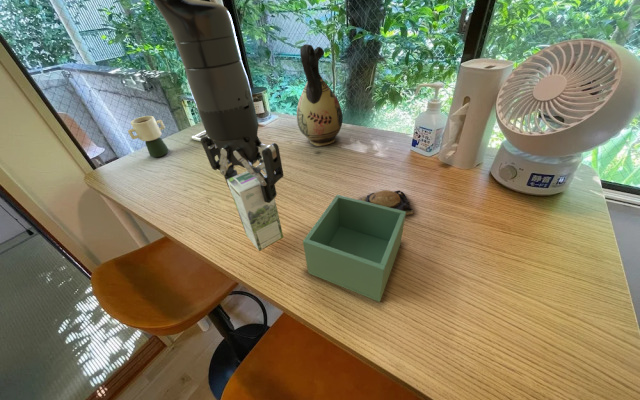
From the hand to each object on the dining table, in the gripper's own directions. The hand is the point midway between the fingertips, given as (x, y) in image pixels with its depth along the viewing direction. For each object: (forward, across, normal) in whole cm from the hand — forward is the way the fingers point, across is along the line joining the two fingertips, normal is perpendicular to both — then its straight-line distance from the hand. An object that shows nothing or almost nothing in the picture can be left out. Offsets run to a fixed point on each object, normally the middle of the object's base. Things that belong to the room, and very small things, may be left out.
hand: (252, 194), depth 45 cm
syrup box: (+11, 0, 0) cm, 11 cm away
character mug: (+13, -63, +19) cm, 67 cm away
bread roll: (+13, +19, +21) cm, 32 cm away
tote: (+13, +18, +4) cm, 23 cm away
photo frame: (+13, -52, +39) cm, 66 cm away
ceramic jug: (+13, -12, +47) cm, 51 cm away
